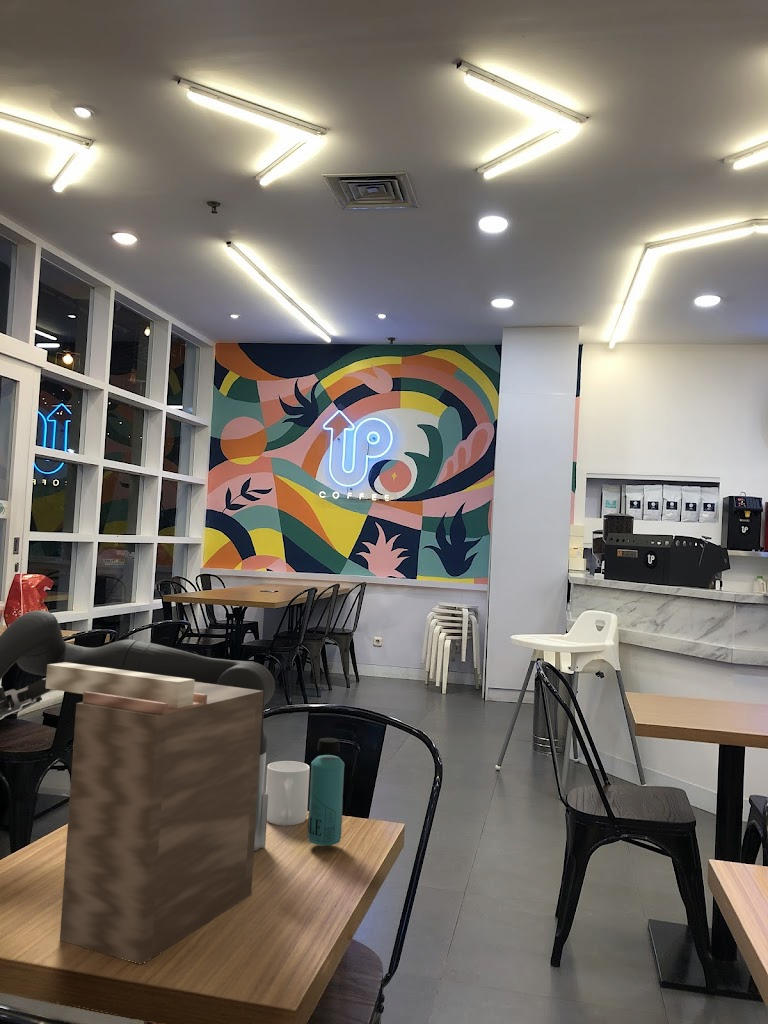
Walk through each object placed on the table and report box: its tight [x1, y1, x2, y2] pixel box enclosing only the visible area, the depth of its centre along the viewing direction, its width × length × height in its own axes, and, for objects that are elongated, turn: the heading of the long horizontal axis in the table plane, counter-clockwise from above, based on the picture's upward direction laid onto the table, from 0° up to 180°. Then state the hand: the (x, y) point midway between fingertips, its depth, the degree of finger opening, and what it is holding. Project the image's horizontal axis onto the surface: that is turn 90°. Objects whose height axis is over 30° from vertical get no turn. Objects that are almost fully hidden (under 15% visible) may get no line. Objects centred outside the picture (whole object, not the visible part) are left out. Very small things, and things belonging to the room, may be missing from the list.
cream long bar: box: [45, 662, 195, 708], centre depth 120 cm, size 24×4×4 cm, turn 66°
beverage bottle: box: [306, 737, 345, 846], centre depth 155 cm, size 6×7×20 cm
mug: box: [265, 760, 311, 827], centre depth 168 cm, size 9×12×11 cm
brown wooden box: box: [59, 682, 263, 964], centre depth 124 cm, size 14×26×33 cm, turn 156°
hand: (25, 688), depth 127 cm, fingers open, 8 cm apart
